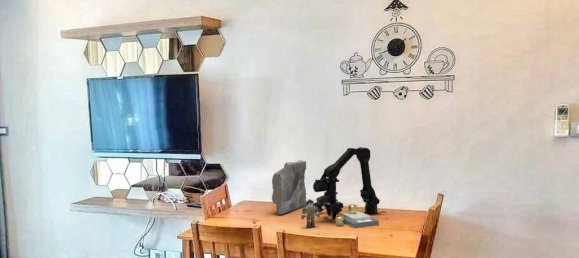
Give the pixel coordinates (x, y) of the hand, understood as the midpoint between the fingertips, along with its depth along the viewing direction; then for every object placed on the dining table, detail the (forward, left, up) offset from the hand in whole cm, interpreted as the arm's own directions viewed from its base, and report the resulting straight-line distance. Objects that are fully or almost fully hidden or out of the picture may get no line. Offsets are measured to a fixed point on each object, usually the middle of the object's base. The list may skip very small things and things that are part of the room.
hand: (331, 218), depth 259 cm
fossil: (+12, -35, -2) cm, 37 cm away
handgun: (-4, -17, -2) cm, 18 cm away
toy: (+17, +9, -1) cm, 19 cm away
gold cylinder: (+1, +12, -1) cm, 12 cm away
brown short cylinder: (0, 0, -1) cm, 1 cm away
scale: (-10, +11, -1) cm, 15 cm away
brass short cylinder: (-10, +5, +3) cm, 12 cm away
